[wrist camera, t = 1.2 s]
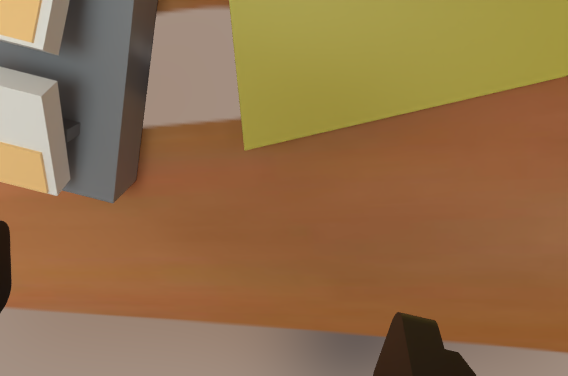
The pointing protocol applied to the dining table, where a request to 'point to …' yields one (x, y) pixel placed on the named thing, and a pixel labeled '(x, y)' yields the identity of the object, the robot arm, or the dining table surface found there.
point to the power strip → (98, 89)
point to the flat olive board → (383, 58)
